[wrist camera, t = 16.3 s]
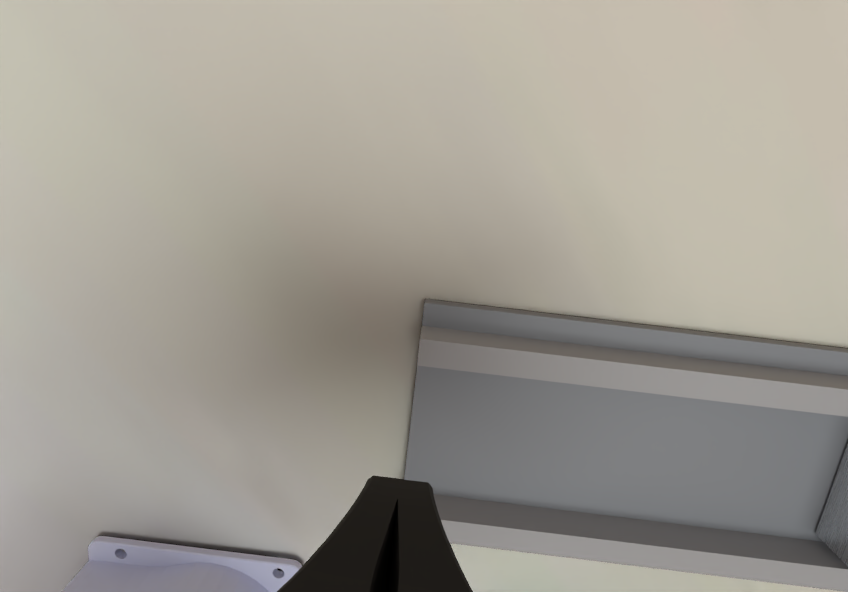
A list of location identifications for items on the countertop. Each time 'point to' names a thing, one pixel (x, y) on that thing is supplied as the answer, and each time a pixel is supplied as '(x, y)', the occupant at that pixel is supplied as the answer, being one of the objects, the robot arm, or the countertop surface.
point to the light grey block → (837, 514)
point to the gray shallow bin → (630, 442)
